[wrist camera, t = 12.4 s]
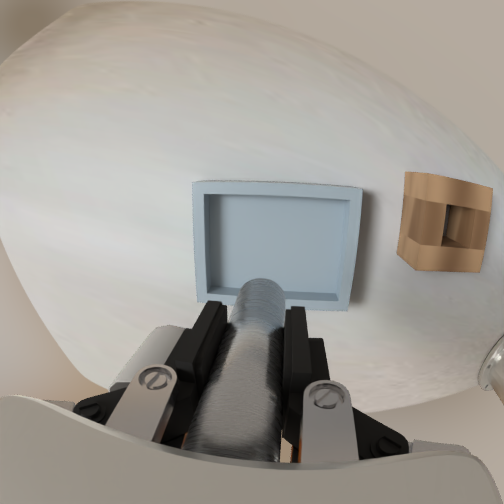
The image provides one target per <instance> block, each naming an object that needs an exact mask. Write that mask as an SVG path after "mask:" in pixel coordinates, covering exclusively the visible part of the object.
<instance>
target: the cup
mask: <svg viewBox="0 0 504 504" xmlns="http://www.w3.org/2000/svg"><path fill="white" fill-rule="evenodd" d="M184 330H185V328H181V327H177V326H172V325H166V326H161V327H157V328H156V329H155V330H154V331H153V332H152V333H151V334H150V335H149V336H148V337H147V338H146V339H145V341H144V342H143V343H142V345H141V346H140V347H139V348H138V350H137V351H136V352H135V354H134V355H133V356H132V358H131V359H130V360H129V361H128V363H127V364H126V365H125V367H124V368H123V369H122V371H121V372H120V373H119V375H118V376H117V377H116V379H115V380H114V381H113V382H112V384H111V385H110V386H109V392H111V391H115V390H118V389H121V388H125V387H128V386H129V384H130V382H131V381H132V379H133V377H134V376H135V374H136V373H137V372H138V370H140V369H141V368H143V367H145V366H148V365H152V364H163V365H164V363H165V362H166V360H167V358H168V356H169V355H170V353H171V351H172V350H173V348H174V346H175V345H176V343H177V341H178V339H179V338H180V336H181V334H182V333H183V331H184Z"/></svg>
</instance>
